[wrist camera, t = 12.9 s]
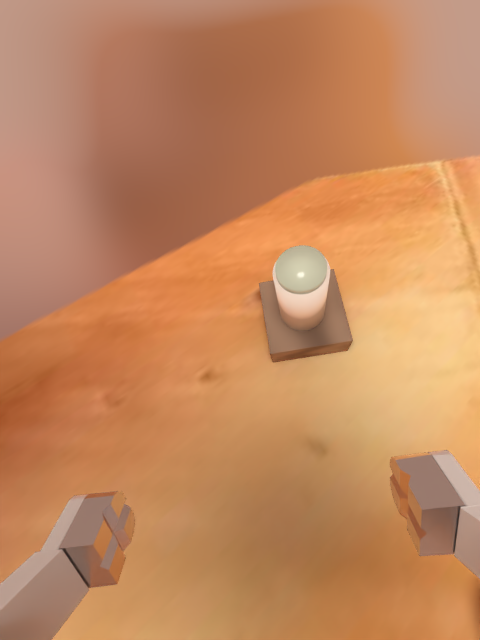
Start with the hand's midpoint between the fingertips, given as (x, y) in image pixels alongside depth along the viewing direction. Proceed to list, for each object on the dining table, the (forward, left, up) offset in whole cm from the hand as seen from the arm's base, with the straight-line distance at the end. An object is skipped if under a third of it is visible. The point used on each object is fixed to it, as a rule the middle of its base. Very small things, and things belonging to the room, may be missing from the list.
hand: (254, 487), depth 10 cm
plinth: (+5, +15, -27) cm, 32 cm away
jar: (+5, +15, -23) cm, 28 cm away
